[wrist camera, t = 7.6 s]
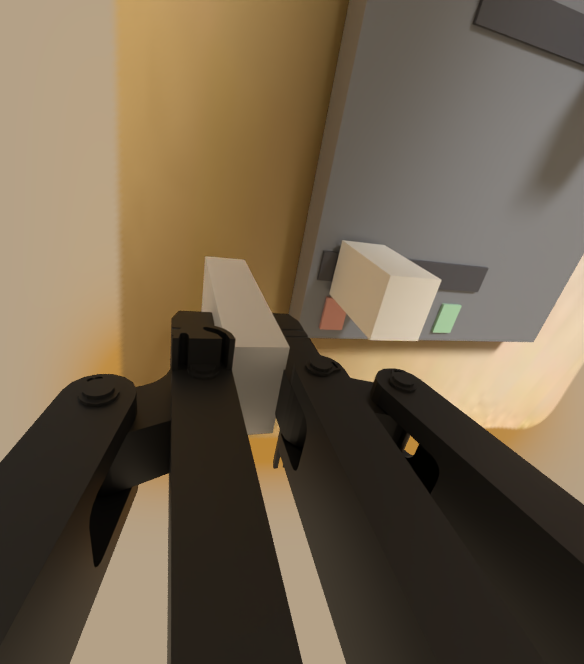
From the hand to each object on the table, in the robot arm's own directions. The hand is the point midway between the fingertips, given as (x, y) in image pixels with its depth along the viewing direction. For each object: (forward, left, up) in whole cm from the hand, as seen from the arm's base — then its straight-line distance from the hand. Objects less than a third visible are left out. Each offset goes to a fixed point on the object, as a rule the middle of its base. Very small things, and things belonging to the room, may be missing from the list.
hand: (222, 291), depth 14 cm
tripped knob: (0, +8, -4) cm, 8 cm away
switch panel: (-6, +15, -6) cm, 17 cm away
